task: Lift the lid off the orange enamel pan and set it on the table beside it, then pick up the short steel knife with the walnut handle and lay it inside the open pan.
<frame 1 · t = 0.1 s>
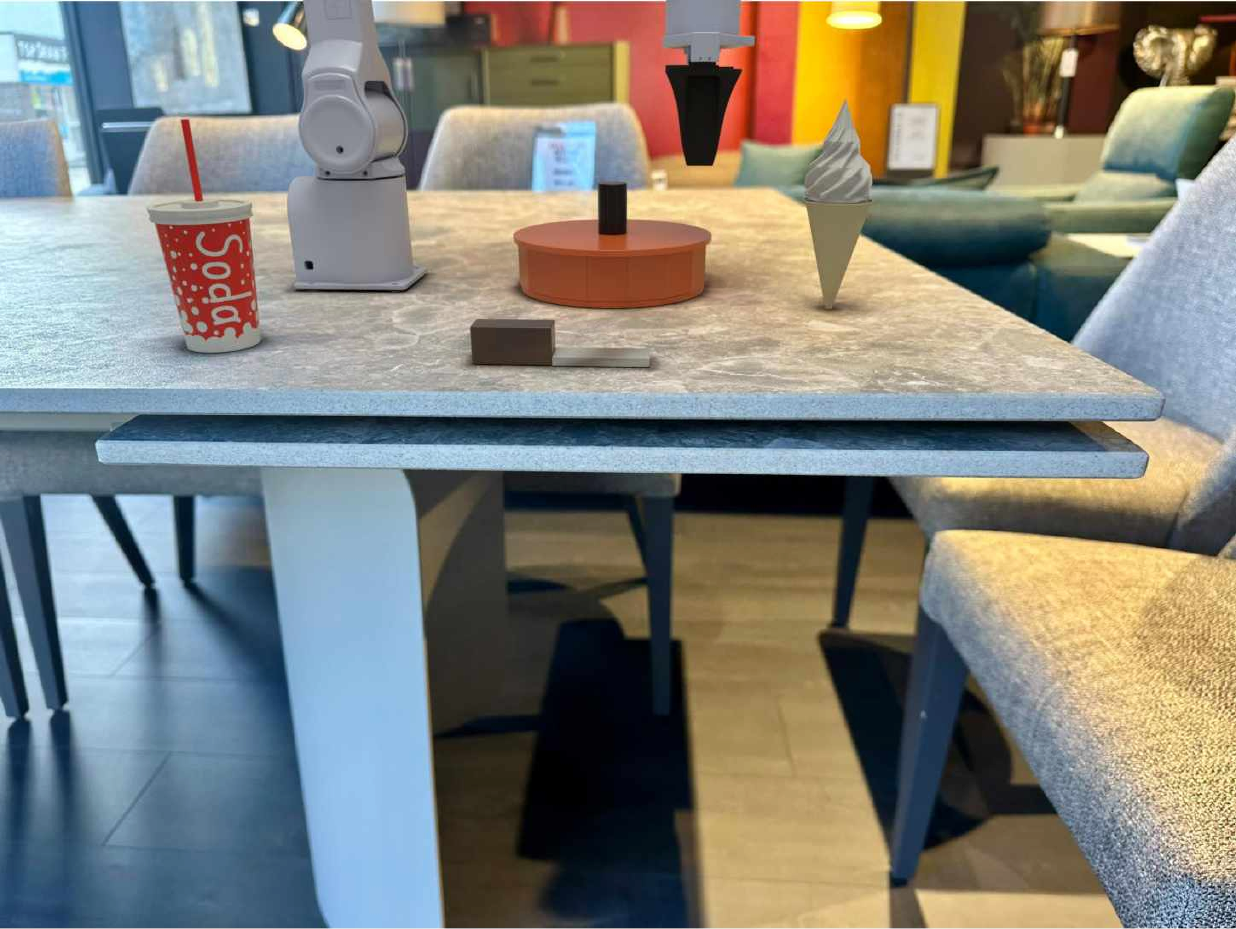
hand: (697, 161, 74), 10 cm above the table, tool pointing down, fingers open, 7 cm apart
beverage cup: (224, 346, 61), on the table
pan lid: (612, 239, 75), point 4 cm above the table, touching pan
pan: (612, 287, 77), on the table
knife: (514, 360, 57), on the table
ice cream cone: (827, 311, 70), on the table
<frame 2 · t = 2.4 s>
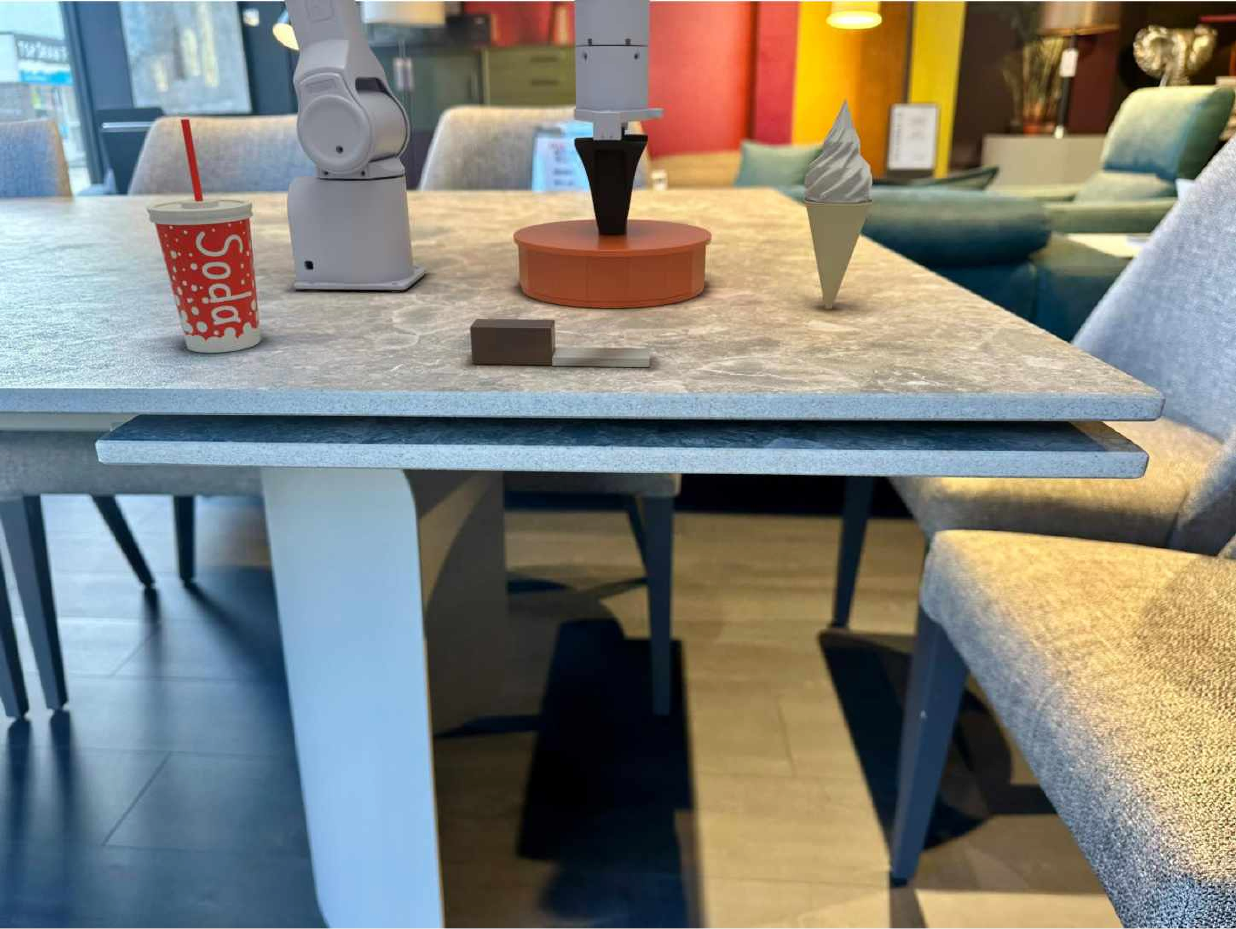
hand: (612, 228, 75), 5 cm above the table, tool pointing down, fingers closed on pan lid, 2 cm apart
pan lid: (612, 239, 75), point 4 cm above the table, touching gripper, pan
everything else where it was.
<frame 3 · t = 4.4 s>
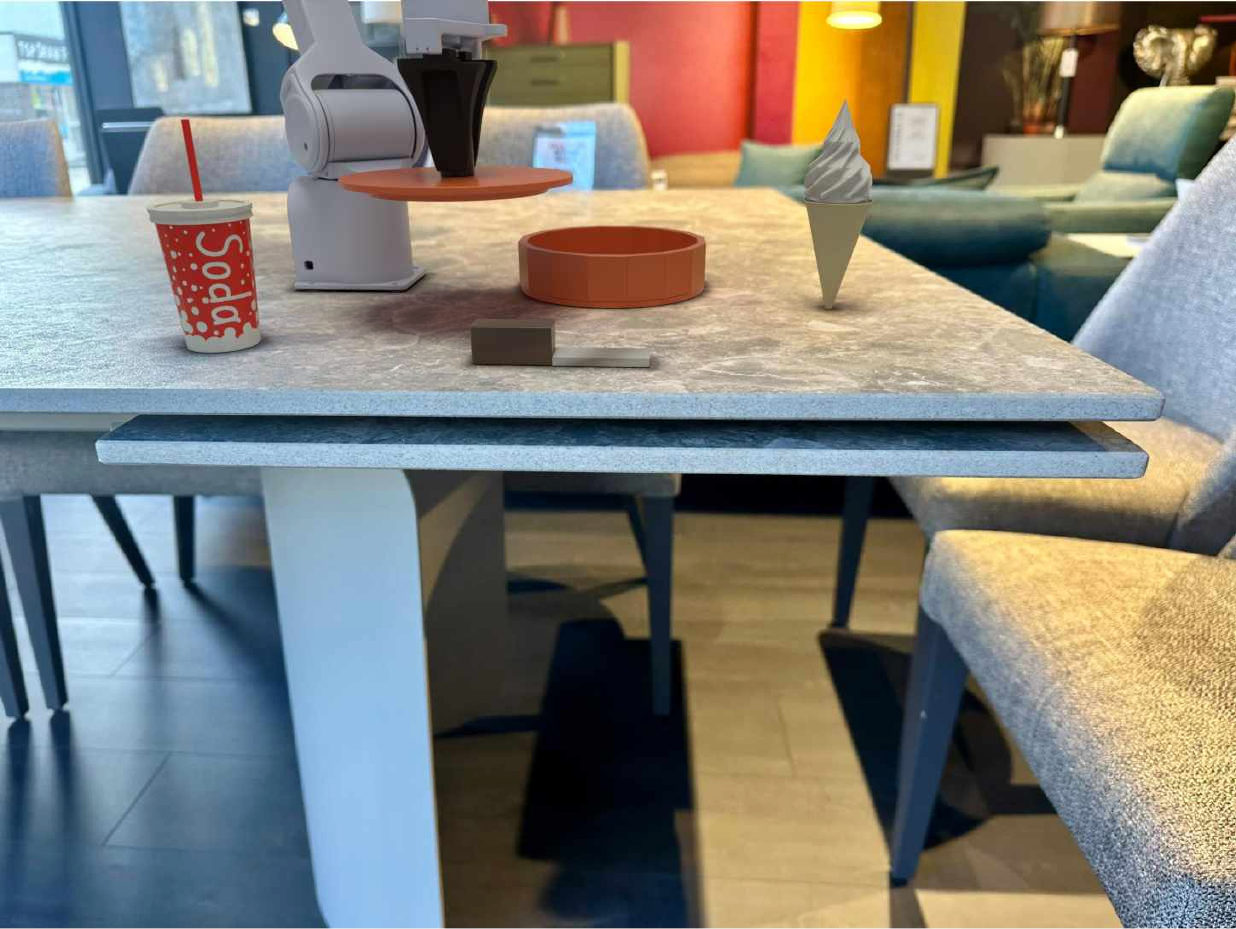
hand: (456, 169, 64), 10 cm above the table, tool pointing down, fingers closed on pan lid, 2 cm apart
pan lid: (458, 182, 64), point 9 cm above the table, touching gripper
everything else where it was.
when the fingers open (1 cm above the table, at t = 6.9 s): pan lid stays where it is, point 1 cm above the table.
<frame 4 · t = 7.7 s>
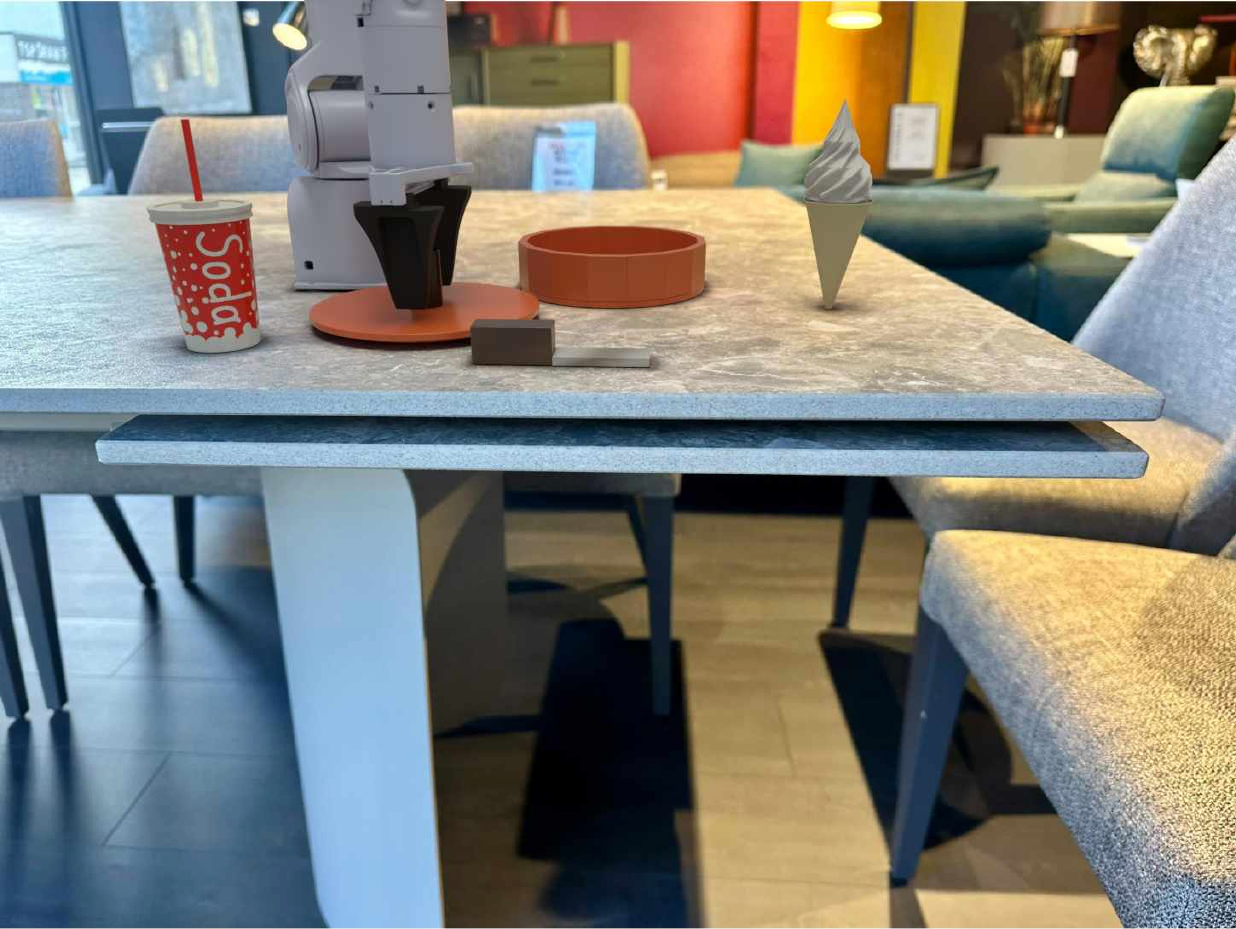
hand: (425, 296, 66), 2 cm above the table, tool pointing down, fingers open, 7 cm apart
pan lid: (427, 311, 66), point 1 cm above the table
everything else where it was.
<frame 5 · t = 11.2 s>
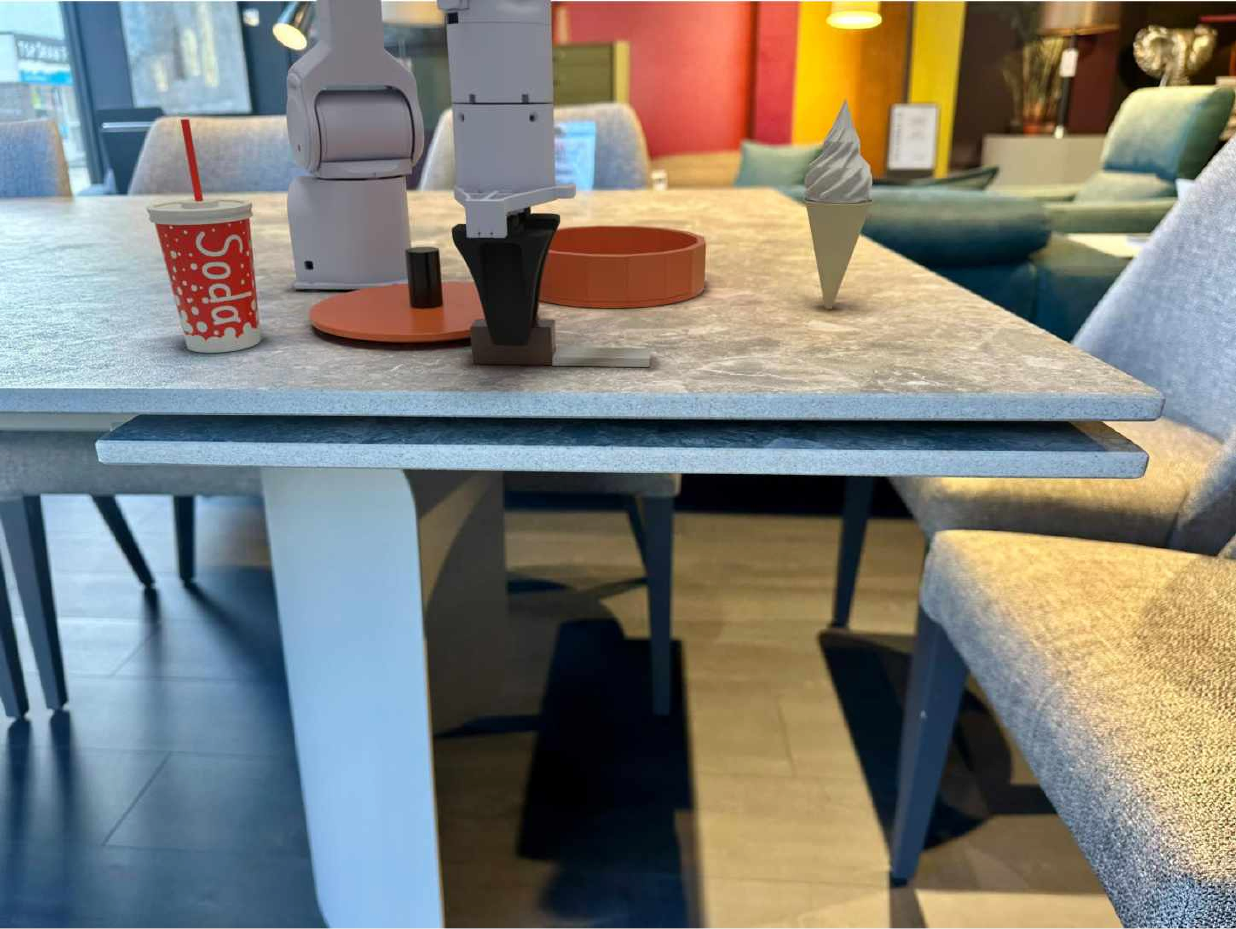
hand: (513, 338, 56), 1 cm above the table, tool pointing down, fingers closed on knife, 2 cm apart
knife: (514, 360, 57), on the table, touching gripper
everything else where it was.
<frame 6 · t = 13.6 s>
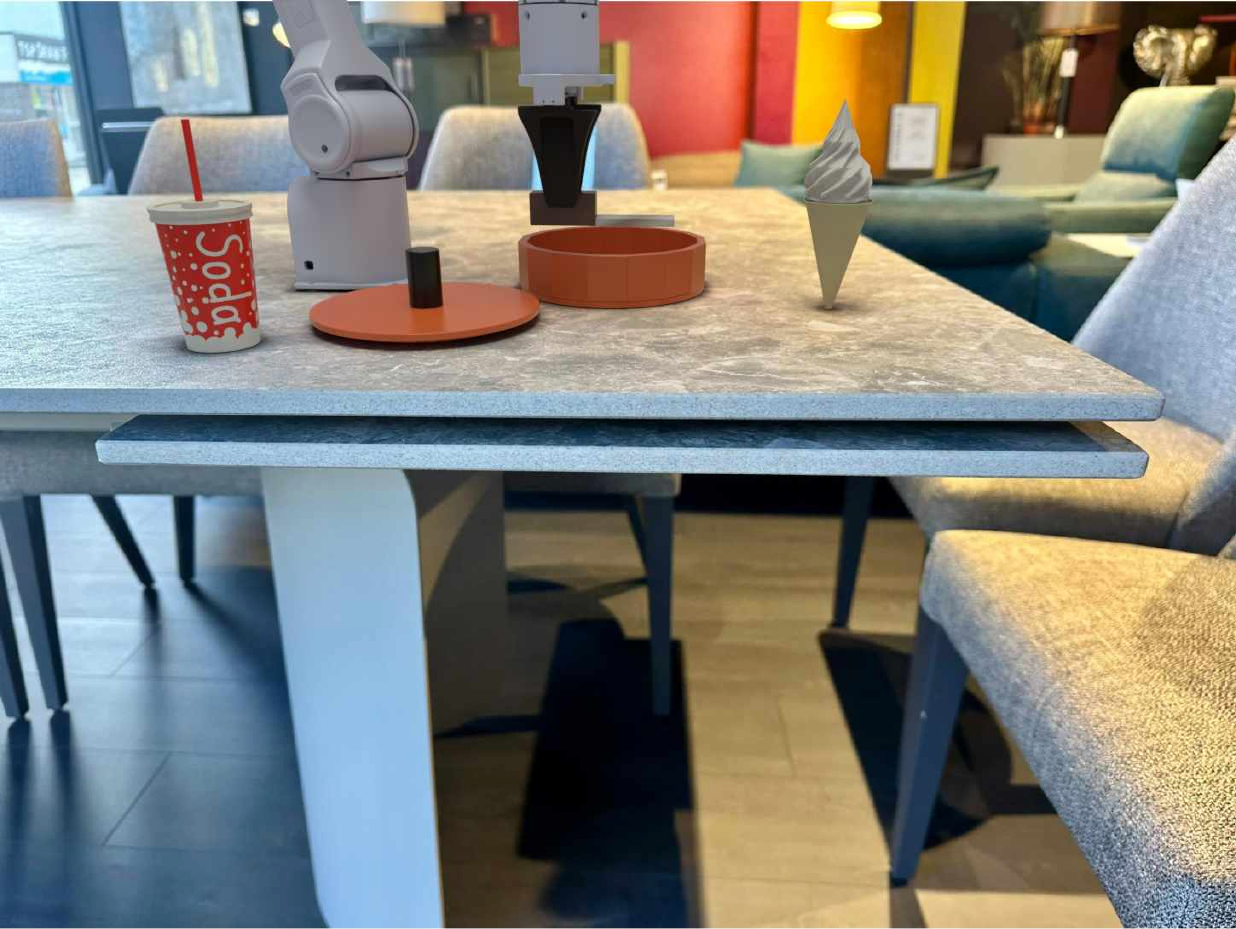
hand: (563, 205, 69), 7 cm above the table, tool pointing down, fingers closed on knife
knife: (564, 223, 70), point 6 cm above the table, touching gripper
everything else where it was.
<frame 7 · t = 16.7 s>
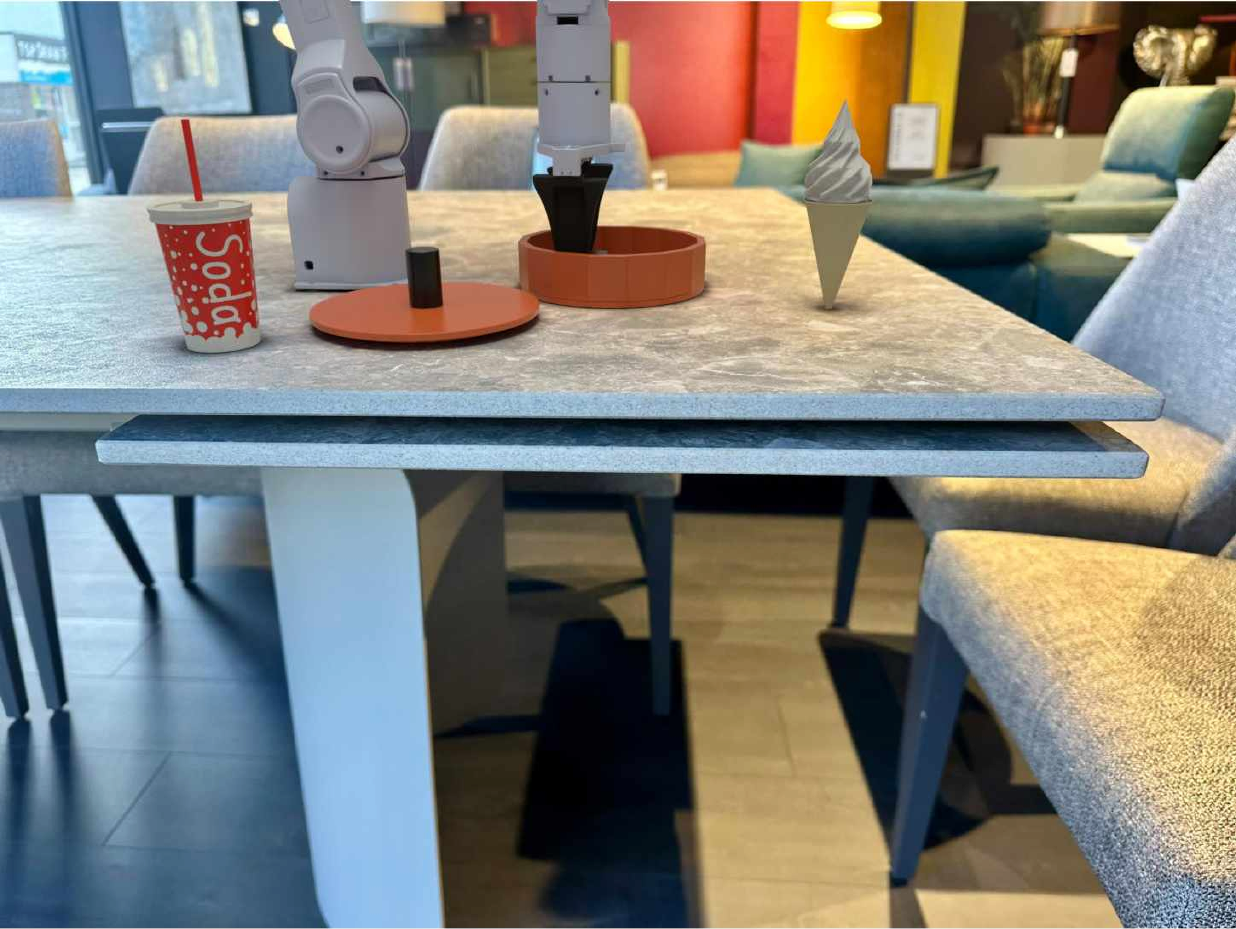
hand: (576, 258, 76), 2 cm above the table, tool pointing down, fingers open, 7 cm apart
knife: (578, 280, 77), resting on pan
everything else where it was.
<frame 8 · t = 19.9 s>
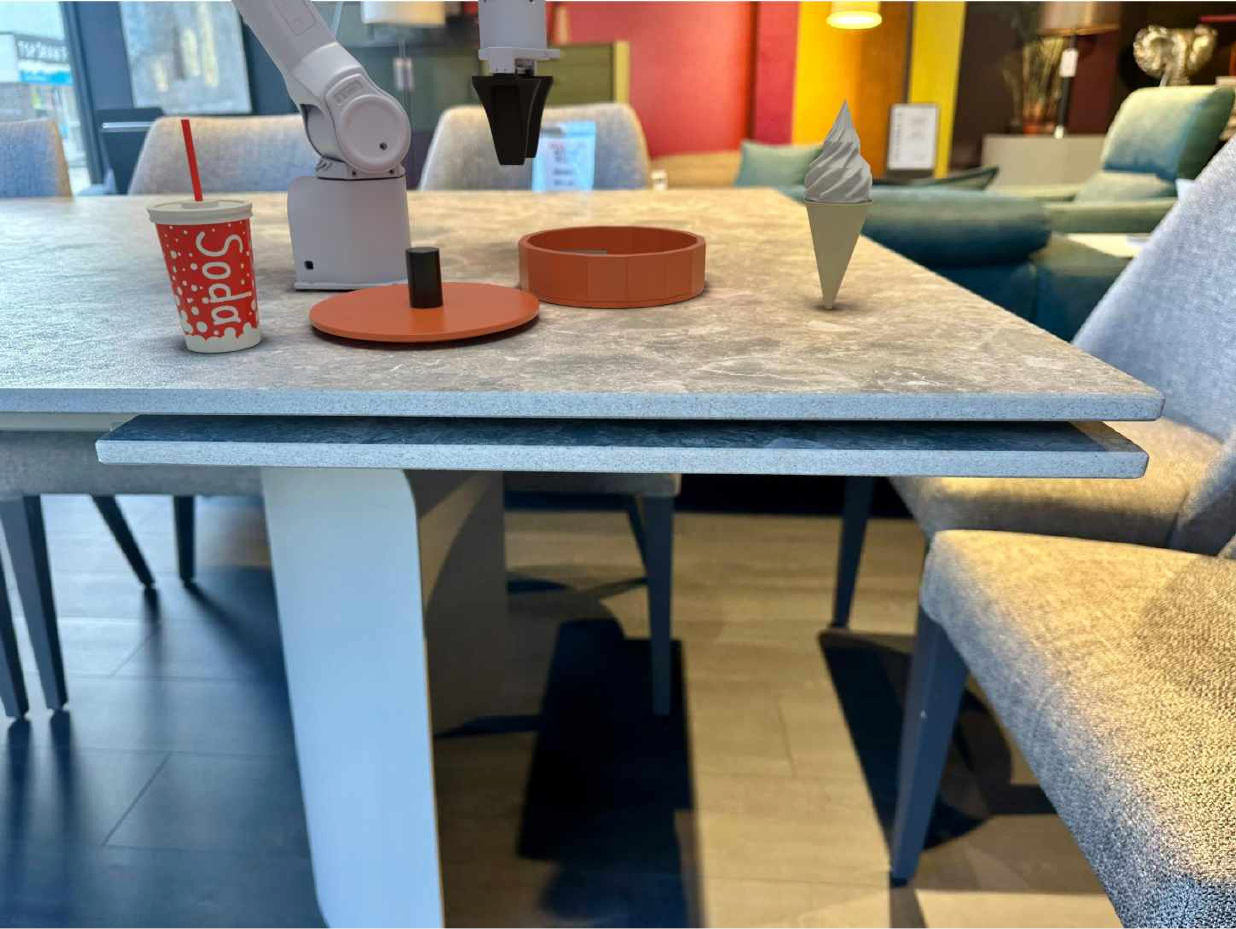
hand: (518, 161, 82), 9 cm above the table, tool pointing down, fingers open, 7 cm apart
nothing on the table moved.
at the end: knife inside the target area in the pan (0.4 cm from its centre), point 0.5 cm above the pan's base; pan lid inside the target area (0.1 cm from its centre), point 0.6 cm above the table; the gripper is holding nothing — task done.
